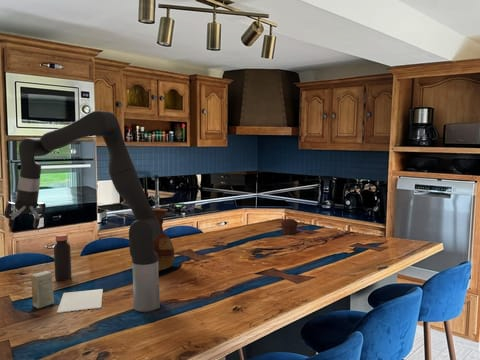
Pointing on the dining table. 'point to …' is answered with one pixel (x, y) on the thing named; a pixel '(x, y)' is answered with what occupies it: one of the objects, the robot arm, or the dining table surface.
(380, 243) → the dining table surface
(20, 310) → the dining table surface
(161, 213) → the brown vase
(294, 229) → the muffin
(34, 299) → the skincare box
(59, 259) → the vinegar
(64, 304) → the mat
